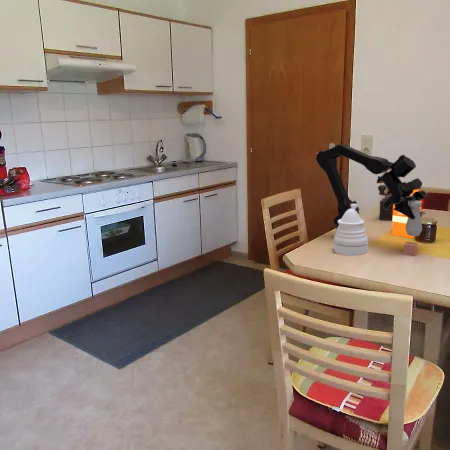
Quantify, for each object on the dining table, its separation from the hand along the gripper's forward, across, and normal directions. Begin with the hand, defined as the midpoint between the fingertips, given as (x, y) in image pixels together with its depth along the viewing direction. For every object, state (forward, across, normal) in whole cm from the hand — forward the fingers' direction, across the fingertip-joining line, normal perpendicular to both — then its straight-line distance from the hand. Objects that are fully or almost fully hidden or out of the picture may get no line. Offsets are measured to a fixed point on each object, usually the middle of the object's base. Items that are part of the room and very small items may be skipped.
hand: (417, 218), depth 166 cm
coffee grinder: (-20, +36, +40) cm, 58 cm away
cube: (+9, -2, +10) cm, 14 cm away
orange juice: (-4, +19, +23) cm, 30 cm away
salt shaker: (+4, 0, +6) cm, 7 cm away
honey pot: (-2, -16, +22) cm, 27 cm away
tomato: (-22, +56, +42) cm, 73 cm away
